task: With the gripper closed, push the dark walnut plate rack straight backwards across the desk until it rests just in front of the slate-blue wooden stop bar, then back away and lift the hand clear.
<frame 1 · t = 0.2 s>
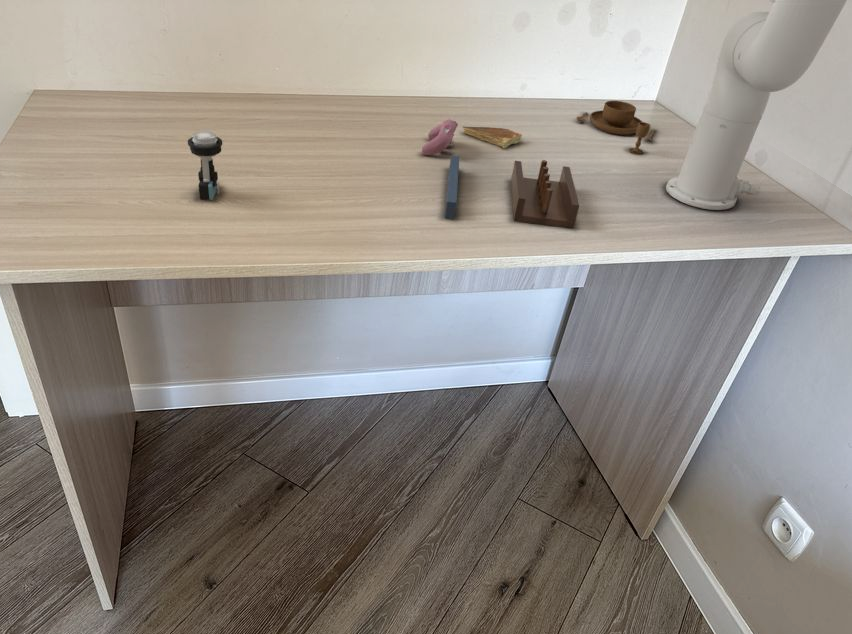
golden brown flat wedge: (492, 142, 144), on the table
rack: (540, 203, 121), on the table
place setting: (611, 133, 154), on the table
push button: (210, 193, 115), on the table
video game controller: (438, 150, 138), on the table
stop bar: (451, 193, 122), on the table
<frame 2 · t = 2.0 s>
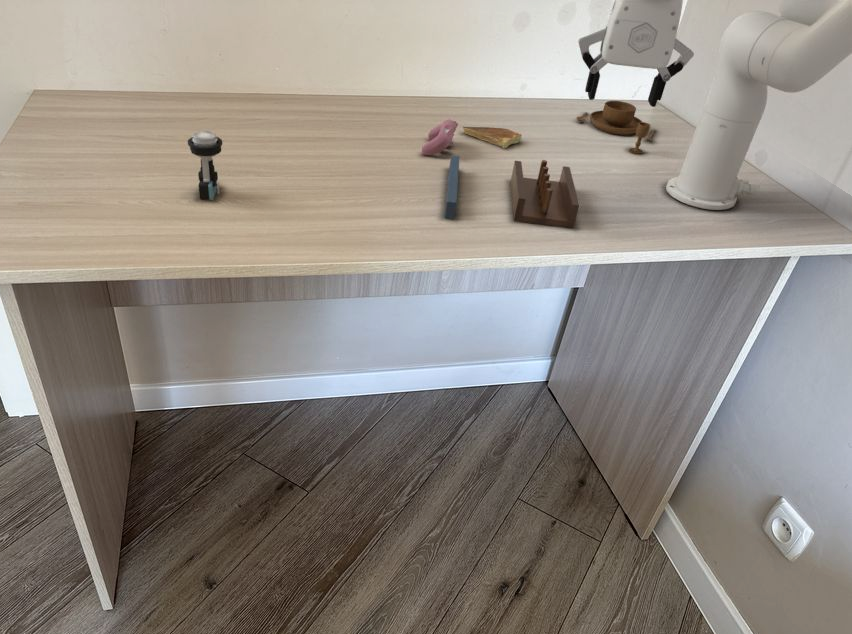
hand: (620, 100, 110), 19 cm above the table, tool pointing down, fingers open, 9 cm apart
nothing on the table moved.
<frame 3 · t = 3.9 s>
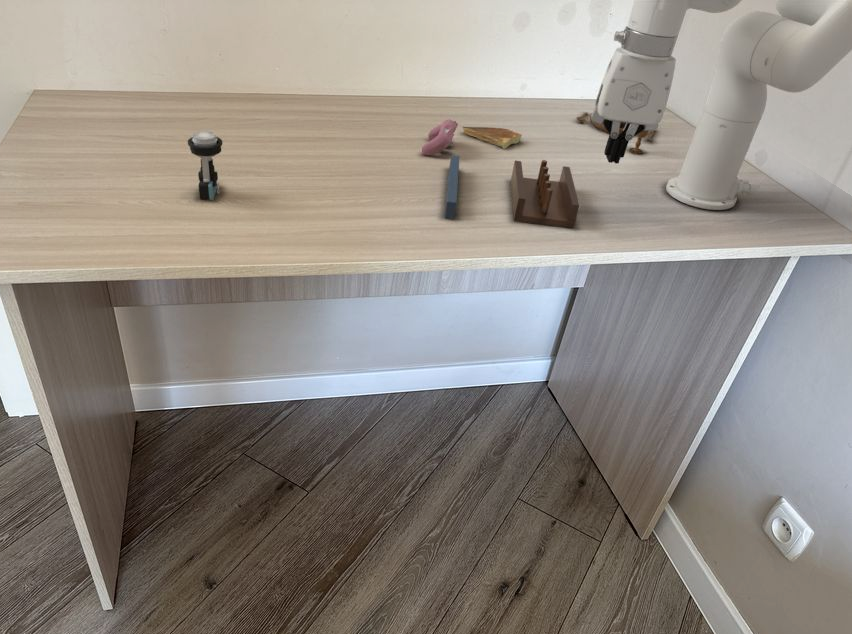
hand: (612, 159, 115), 9 cm above the table, tool pointing down, fingers closed
nothing on the table moved.
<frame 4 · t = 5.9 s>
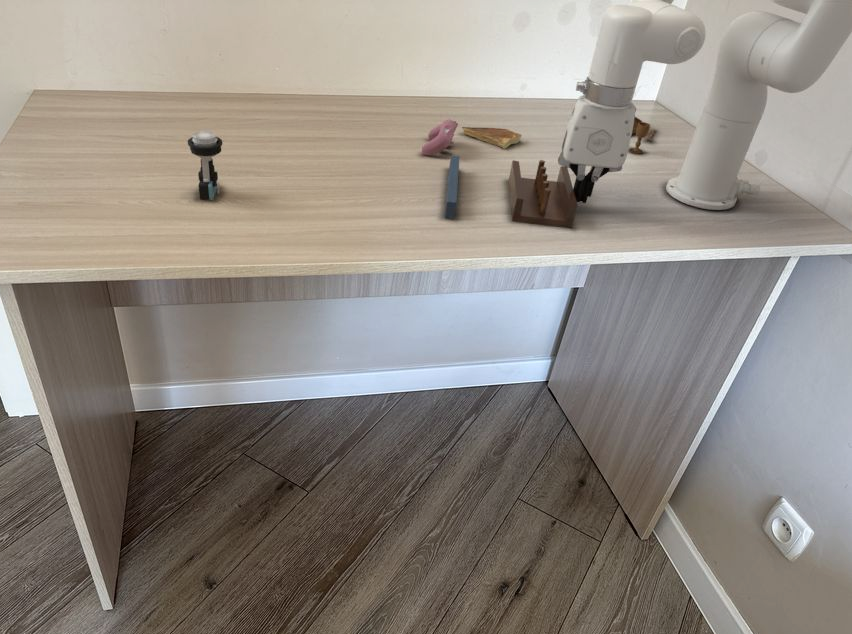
hand: (580, 199, 120), 2 cm above the table, tool pointing down, fingers closed
rack: (538, 203, 121), on the table, touching gripper
everything else where it was.
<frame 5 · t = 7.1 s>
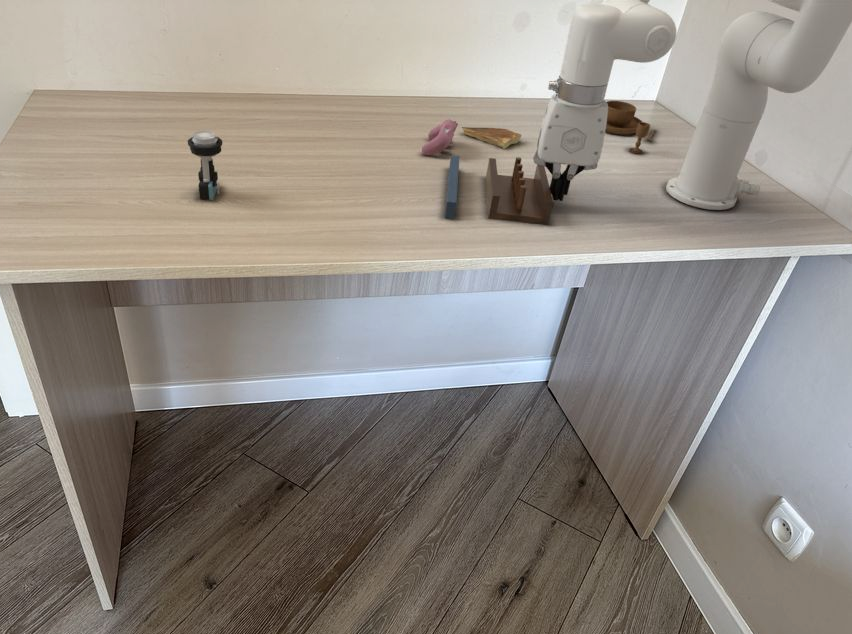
hand: (557, 197, 120), 2 cm above the table, tool pointing down, fingers closed
rack: (514, 201, 121), on the table, touching gripper
everything else where it was.
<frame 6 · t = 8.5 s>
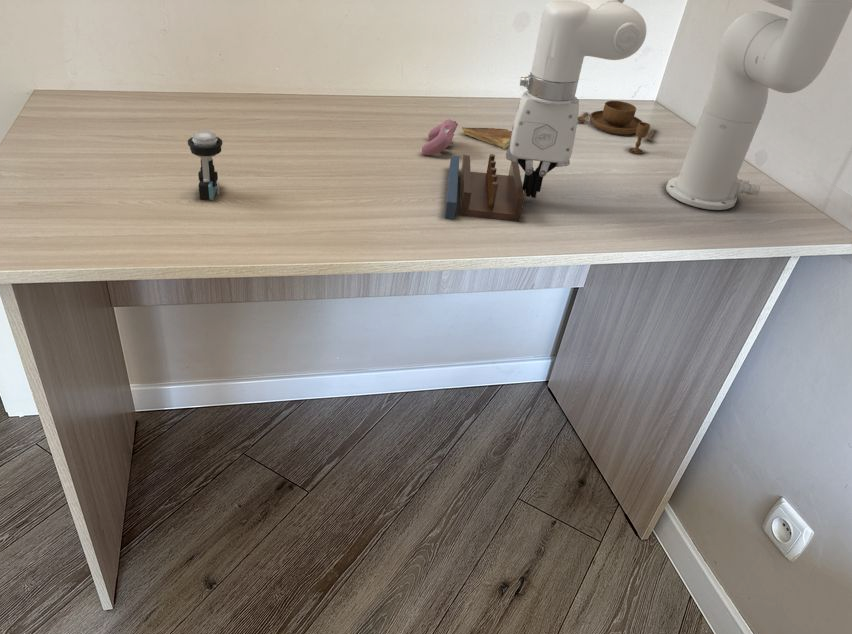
hand: (530, 194, 120), 2 cm above the table, tool pointing down, fingers closed
rack: (488, 197, 122), on the table, touching gripper
everything else where it was.
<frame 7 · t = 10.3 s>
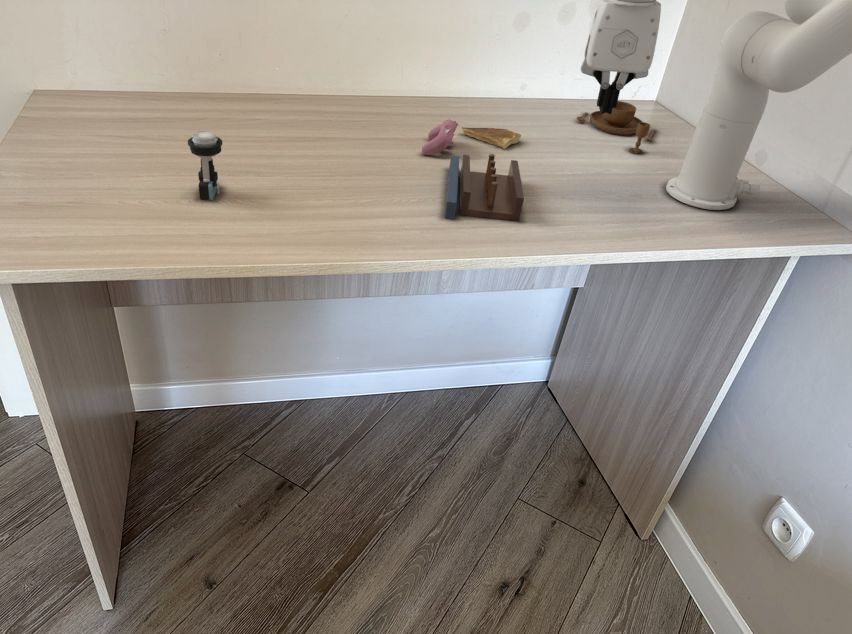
hand: (605, 110, 116), 16 cm above the table, tool pointing down, fingers closed
rack: (487, 197, 122), on the table
everything else where it was.
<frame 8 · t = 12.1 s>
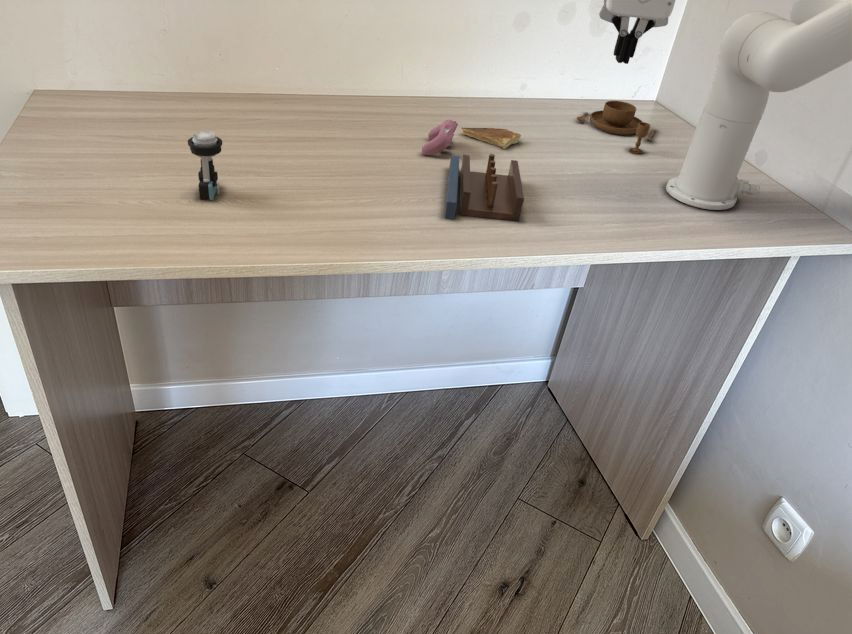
hand: (621, 61, 113), 23 cm above the table, tool pointing down, fingers closed
nothing on the table moved.
at the end: rack 0.5 cm from the target spot, on the table; rack moved 9.3 cm from its start; rack tilted 0° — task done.
